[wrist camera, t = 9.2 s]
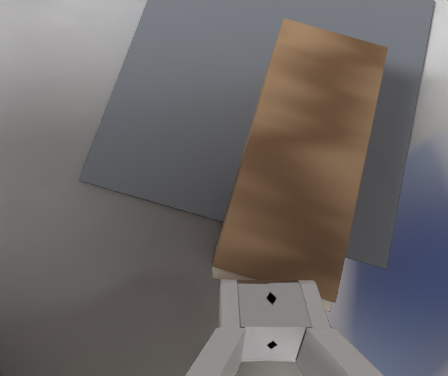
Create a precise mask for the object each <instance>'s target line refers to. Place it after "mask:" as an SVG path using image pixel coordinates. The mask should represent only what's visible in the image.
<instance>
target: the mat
mask: <svg viewBox="0 0 448 376" xmlns="http://www.w3.org/2000/svg"><path fill="white" fill-rule="evenodd" d="M434 2H435V1H434V0H148V1H147V3H146V6H145V8H144V11H143V14H142V16H141V19H140V22H139V24H138V27H137V29H136V32H135V35H134V37H133V40H132V42H131V45H130V48H129V50H128V53H127V55H126V58H125V61H124V63H123V66H122V69H121V71H120V74H119V76H118V79H117V82H116V84H115V87H114V89H113V92H112V95H111V97H110V100H109V103H108V105H107V108H106V110H105V113H104V116H103V118H102V121H101V123H100V126H99V129H98V131H97V134H96V136H95V139H94V142H93V144H92V147H91V150H90V152H89V155H88V157H87V160H86V163H85V165H84V168H83V170H82V173H81V176H80V178H79V180H80V181H83V182H86V183H90V184H93V185H97V186H100V187H103V188H107V189H110V190H114V191H117V192H121V193H124V194H128V195H131V196H135V197H138V198H142V199H145V200H148V201H152V202H155V203H159V204H162V205H166V206H169V207H173V208H176V209H180V210H183V211H187V212H190V213H193V214H197V215H200V216H204V217H207V218H211V219H214V220H218V221H221V222H223V221H224V218H225V214H226V211H227V207H228V204H229V200H230V197H231V193H232V190H233V186H234V183H235V179H236V176H237V172H238V169H239V165H240V162H241V158H242V155H243V151H244V148H245V144H246V141H247V137H248V134H249V130H250V127H251V123H252V120H253V116H254V113H255V109H256V106H257V102H258V99H259V95H260V92H261V88H262V85H263V81H264V78H265V74H266V71H267V68H268V65H269V62H270V59H271V55H272V52H273V49H274V46H275V43H276V40H277V37H278V33H279V30H280V27H281V24H282V21H283V18H285V19H289V20H292V21H296V22H299V23H303V24H306V25H310V26H314V27H317V28H321V29H324V30H328V31H331V32H335V33H338V34H342V35H346V36H349V37H353V38H356V39H360V40H363V41H367V42H370V43H374V44H377V45H381V46H385V47H388V50H387V55H386V60H385V65H384V70H383V75H382V80H381V84H380V89H379V94H378V99H377V104H376V109H375V114H374V118H373V123H372V128H371V133H370V138H369V143H368V148H367V152H366V157H365V162H364V167H363V172H362V177H361V182H360V186H359V191H358V196H357V201H356V206H355V211H354V216H353V220H352V225H351V230H350V235H349V240H348V245H347V249H346V254H345V257H346V258H349V259H353V260H356V261H360V262H363V263H367V264H370V265H374V266H377V267H380V268H384V269H387V264H388V258H389V253H390V248H391V242H392V236H393V231H394V225H395V220H396V214H397V208H398V202H399V197H400V192H401V186H402V180H403V175H404V169H405V164H406V158H407V153H408V147H409V141H410V136H411V130H412V125H413V119H414V114H415V108H416V102H417V97H418V91H419V86H420V80H421V74H422V69H423V63H424V58H425V52H426V46H427V41H428V35H429V30H430V24H431V19H432V13H433V7H434Z"/></svg>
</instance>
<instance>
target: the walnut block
mask: <svg viewBox="0 0 448 376" xmlns="http://www.w3.org/2000/svg"><path fill="white" fill-rule="evenodd" d="M387 50H388V47H385V46H381V45H377V44H374V43H370V42H367V41H363V40H360V39H356V38H353V37H349V36H346V35H342V34H338V33H335V32H331V31H328V30H324V29H321V28H317V27H314V26H310V25H306V24H303V23H299V22H296V21H292V20H289V19H285V18H283V21H282V24H281V27H280V30H279V33H278V37H277V40H276V43H275V46H274V49H273V52H272V55H271V59H270V62H269V65H268V68H267V71H266V74H265V78H264V81H263V85H262V88H261V92H260V95H259V99H258V102H257V106H256V109H255V113H254V116H253V120H252V123H251V127H250V130H249V134H248V137H247V141H246V144H245V148H244V151H243V155H242V158H241V162H240V165H239V169H238V172H237V176H236V179H235V183H234V186H233V190H232V193H231V197H230V200H229V204H228V207H227V211H226V214H225V218H224V221H223V225H222V229H221V232H220V236H219V239H218V243H217V246H216V250H215V253H214V257H213V260H212V263H213V267H212V277H213V278H216V279H219V280H221V279H230V280H262V281H267V280H297V281H298V280H314V281H315V282H316V284H317V287H318V290H319V293H320V296H321V300H322V303H323V306H324V309H325V310H326V311H329V312H330V309H331V304H332V302H336V298H337V293H338V288H339V283H340V279H341V274H342V269H343V264H344V259H345V254H346V249H347V245H348V240H349V235H350V230H351V225H352V220H353V216H354V211H355V206H356V201H357V196H358V191H359V186H360V182H361V177H362V172H363V167H364V162H365V157H366V152H367V148H368V143H369V138H370V133H371V128H372V123H373V118H374V114H375V109H376V104H377V99H378V94H379V89H380V84H381V80H382V75H383V70H384V65H385V60H386V55H387Z"/></svg>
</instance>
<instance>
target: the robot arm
mask: <svg viewBox="0 0 448 376" xmlns="http://www.w3.org/2000/svg"><path fill="white" fill-rule="evenodd" d="M253 361H284V362H296V364H297V366H298V367H299V369H300V370H301V371H302V373H303V374H304V376H384V375H382V374H381V372H380V371H379V370H378V369H377V368H376V367H375V366H373V365H372V364H371V363H370V362H369V361H368V360H367V359H366V358H365V357H364V356H363V355H362V354H361V353H360V352H359V351H358V350H357V349H356V348H355V347H354V346H353V345H352V344H351V343H350V342H349V341H348V340H347V339H346V338H345V337H344V336H343V335H342V334H341V333H340V332H339V331H338V330H337V329H336V328H331V327H330V324H329V321H328V318H327V315H326V312H325V309H324V306H323V303H322V300H321V296H320V293H319V290H318V287H317V284H316V282H315V281H314V280H298V281H297V280H267V281H262V280H230V279H221V281H220V298H219V328H216V329H215V331H214V332H213V334H212V335H211V337H210V338H209V340H208V341H207V343H206V345H205V346H204V348H203V349H202V351H201V352H200V354H199V355H198V357H197V358H196V360H195V361H194V363H193V365H192V366H191V368H190V369H189V371H188V372H187V374H186V375H185V376H236V373H237V371H238V369H239V367H240V365H241V362H253Z"/></svg>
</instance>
